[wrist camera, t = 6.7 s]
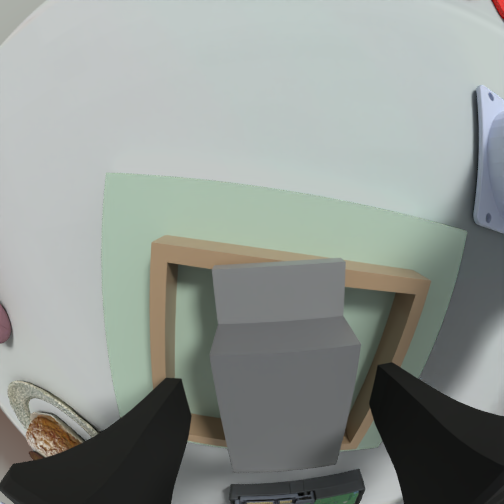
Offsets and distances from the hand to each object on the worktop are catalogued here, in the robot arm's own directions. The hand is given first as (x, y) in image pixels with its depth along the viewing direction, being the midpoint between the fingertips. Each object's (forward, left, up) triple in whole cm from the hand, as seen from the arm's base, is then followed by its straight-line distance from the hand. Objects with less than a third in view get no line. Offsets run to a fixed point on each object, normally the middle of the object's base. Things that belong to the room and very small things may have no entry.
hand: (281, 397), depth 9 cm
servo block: (0, 0, -2) cm, 2 cm away
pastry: (+16, +13, -4) cm, 21 cm away
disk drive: (-6, +20, -4) cm, 21 cm away
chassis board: (0, 0, -3) cm, 3 cm away
